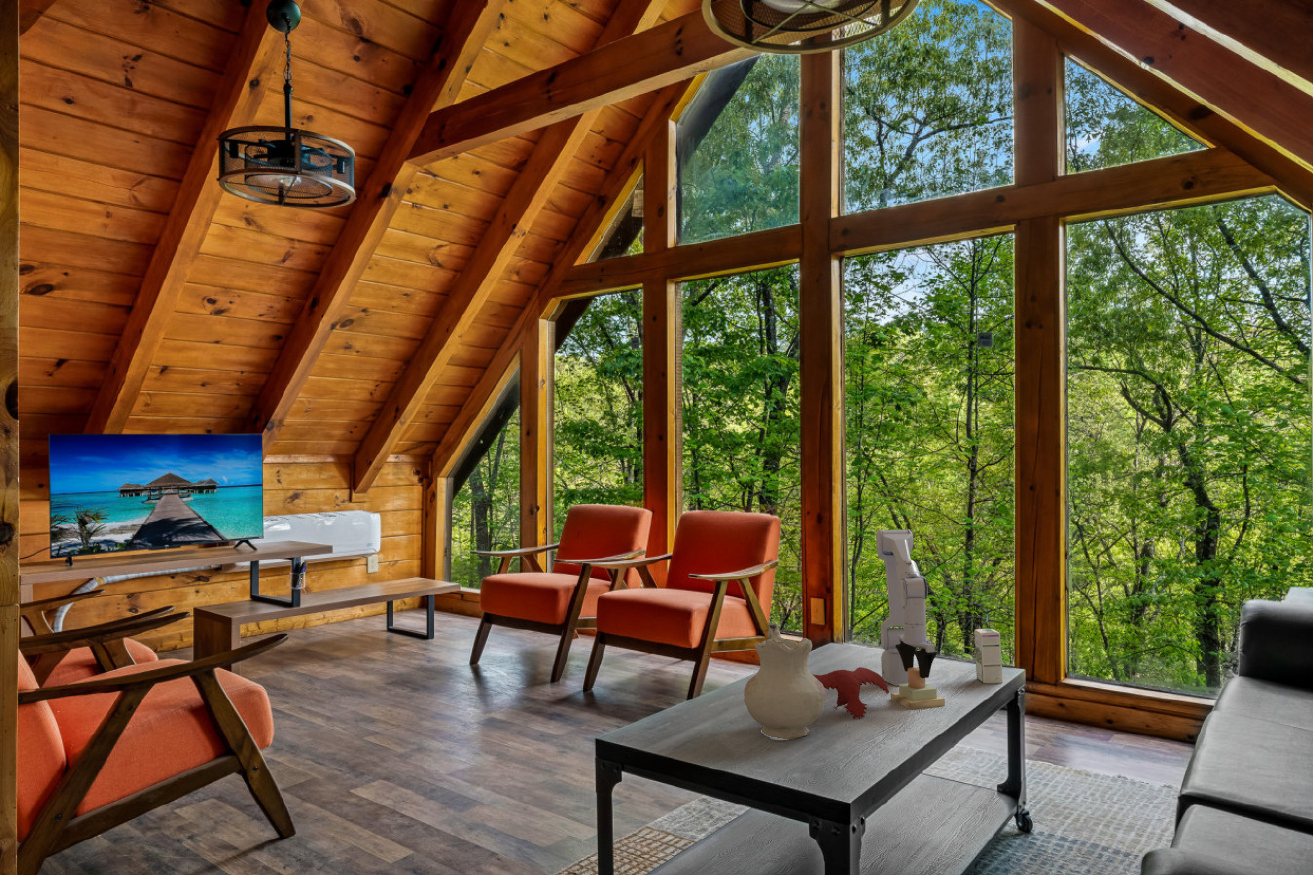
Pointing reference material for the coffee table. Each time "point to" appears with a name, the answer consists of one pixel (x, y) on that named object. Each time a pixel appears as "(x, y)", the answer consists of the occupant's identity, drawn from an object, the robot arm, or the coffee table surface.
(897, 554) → the robot arm
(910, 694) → the sage slab
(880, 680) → the decorative bird sculpture
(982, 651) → the syrup box
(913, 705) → the maple slab
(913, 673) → the peach domed cylinder
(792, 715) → the ceramic pitcher
